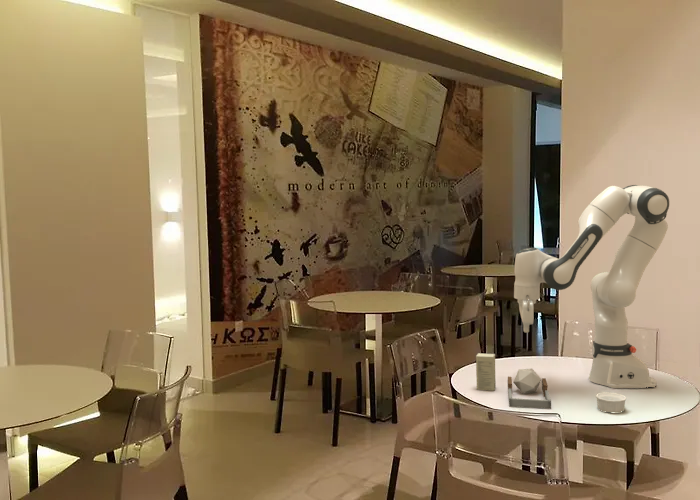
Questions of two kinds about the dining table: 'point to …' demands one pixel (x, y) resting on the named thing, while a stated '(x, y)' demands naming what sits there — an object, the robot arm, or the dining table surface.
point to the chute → (544, 384)
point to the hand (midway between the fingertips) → (526, 331)
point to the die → (527, 381)
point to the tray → (529, 401)
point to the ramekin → (611, 402)
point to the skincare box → (485, 371)
